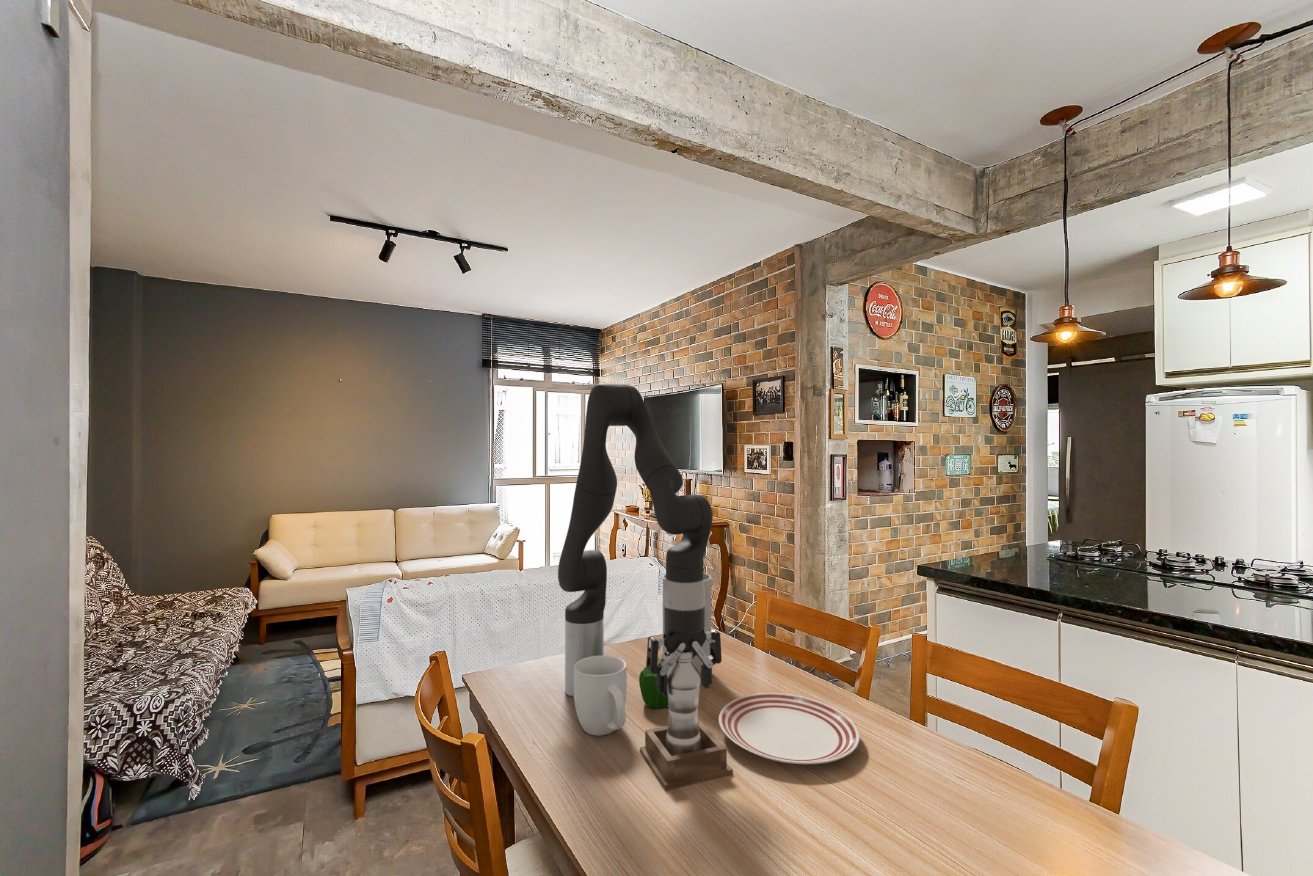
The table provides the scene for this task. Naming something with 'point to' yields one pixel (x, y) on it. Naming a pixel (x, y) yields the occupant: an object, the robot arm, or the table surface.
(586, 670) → the mug
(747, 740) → the dinner plate
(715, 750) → the bottle stand
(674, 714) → the plastic bottle
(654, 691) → the bell pepper
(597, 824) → the table surface
